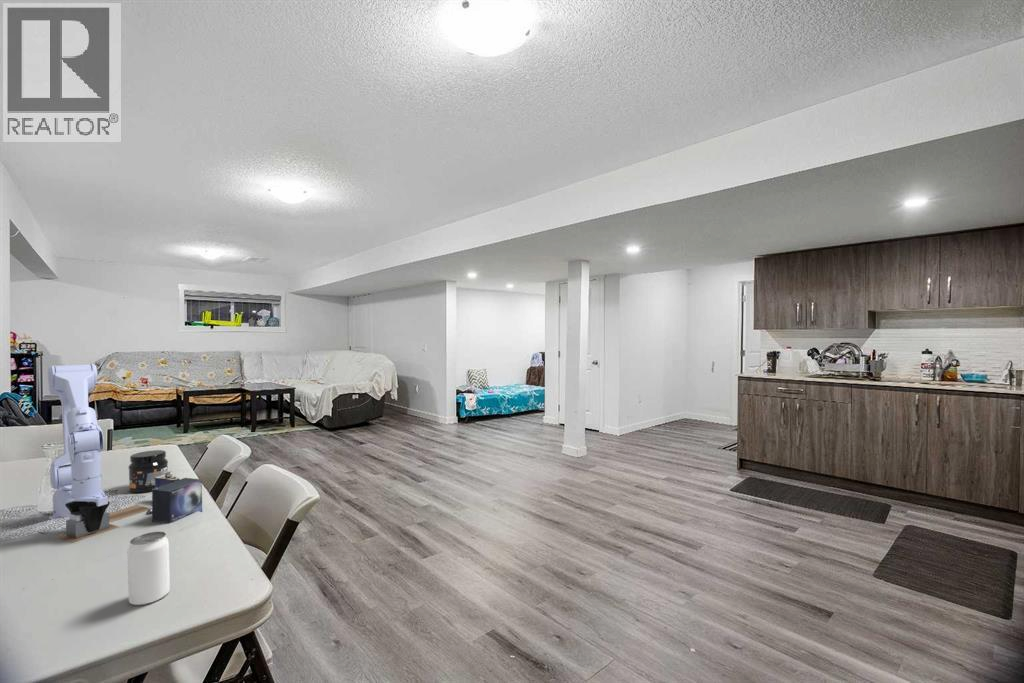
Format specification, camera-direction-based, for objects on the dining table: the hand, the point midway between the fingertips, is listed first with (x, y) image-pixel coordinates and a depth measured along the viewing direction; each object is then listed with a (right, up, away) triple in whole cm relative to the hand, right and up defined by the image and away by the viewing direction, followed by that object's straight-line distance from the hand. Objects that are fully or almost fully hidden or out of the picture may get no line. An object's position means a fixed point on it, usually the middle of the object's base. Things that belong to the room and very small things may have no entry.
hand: (88, 529), depth 119 cm
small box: (+16, -2, +11) cm, 19 cm away
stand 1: (0, -2, 0) cm, 2 cm away
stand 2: (-1, -2, +13) cm, 13 cm away
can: (+37, -3, -27) cm, 46 cm away
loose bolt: (+10, -2, +12) cm, 16 cm away
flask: (+5, -2, +21) cm, 22 cm away
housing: (0, -1, 0) cm, 1 cm away
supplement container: (-14, -2, +38) cm, 40 cm away
